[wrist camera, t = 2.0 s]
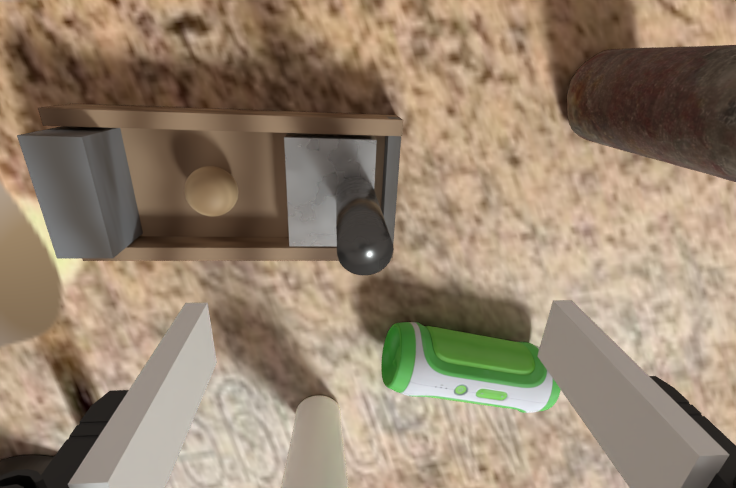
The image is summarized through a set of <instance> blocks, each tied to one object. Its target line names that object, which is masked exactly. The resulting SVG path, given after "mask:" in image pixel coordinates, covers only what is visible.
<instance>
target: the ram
mask: <svg viewBox="0 0 736 488" xmlns="http://www.w3.org/2000/svg"><path fill="white" fill-rule="evenodd" d="M284 144H285V165H286V186H287V207H288V227H289V246H337V256H338V259H339V261H340V263H341V265H342V266H343V267H344V268H345V269H346V270H348V271H349V272H351V273H354V274H357V275H371V274H375V273H377V272H379V271H381V270H382V269H384V268H385V267H386V266H387V264H388V263H389V262H390V260H391V258H392V255H393V243H392V240H391V237H390V234H389V231H388V228H387V225H386V222H385V220H384V217H383V214H382V211H381V208H380V205H379V202H378V199H377V196H376V194H375V191H374V185H375V164H376V144H377V140H376V138H375V137H374V135H342V134H308V133H287V134H286V136H285V137H284Z"/></svg>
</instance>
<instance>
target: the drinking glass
mask: <svg viewBox="0 0 736 488" xmlns="http://www.w3.org/2000/svg"><path fill="white" fill-rule="evenodd" d="M281 488H349V487H348V478H347V470H346V462H345V454H344V446H343V437H342V428H341V411H340V407H339V405H338V404H337V403H336V401H334V400H333V399H332V398H330V397H327V396H322V395H316V396H311V397H308V398H306V399H304V400H303V401H302V402H301V403H300V404H299V405H298V407H297V409H296V413H295V421H294V427H293V432H292V437H291V442H290V447H289V452H288V456H287V461H286V466H285V470H284V475H283V479H282V484H281Z"/></svg>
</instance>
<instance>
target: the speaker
mask: <svg viewBox="0 0 736 488" xmlns="http://www.w3.org/2000/svg"><path fill="white" fill-rule="evenodd" d="M539 349H540V347H538V346H535V345H533V344H531V343H528V342H514V341H509V340H503V339H498V338H492V337H487V336H481V335H476V334H470V333H465V332H459V331H454V330H449V329H443V328H438V327H432V326H426V327H425V326H423V325H421V324H420V323H418V322H402V323H395V324H394V325H392V326H391V328H390V329H389V331H388V333H387V336H386V339H385V343H384V347H383V353H382V378H383V382H384V384H385V385H386V387H388V388H390V389H392V390H394V391H396V392H399V393H401V394H404V395H408V396H421V397H432V398H439V399H446V400H453V401H460V402H467V403H474V404H481V405H488V406H495V407H502V408H511V409H516V410H518V411H520V412H526V413H529V412H538V411H543V410H547V409H549V408H551V407H552V406H553V405H554V404H555V403H556V401H557V399H558V397H559V393H560V388H559V386H558V385H557V383H556V382H555V380H554V379H553V378H552V376H551V375H550V373H549V372H548V371H547V369H546V368H545V366H544V365H543V363H542V362H541V361H540V359H539V358H538V352H539Z"/></svg>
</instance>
